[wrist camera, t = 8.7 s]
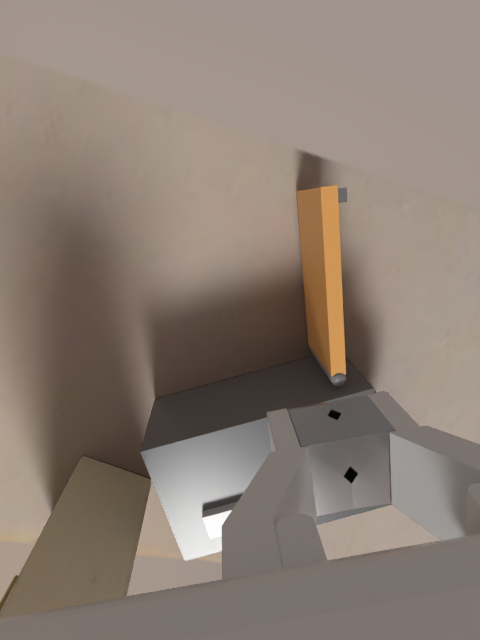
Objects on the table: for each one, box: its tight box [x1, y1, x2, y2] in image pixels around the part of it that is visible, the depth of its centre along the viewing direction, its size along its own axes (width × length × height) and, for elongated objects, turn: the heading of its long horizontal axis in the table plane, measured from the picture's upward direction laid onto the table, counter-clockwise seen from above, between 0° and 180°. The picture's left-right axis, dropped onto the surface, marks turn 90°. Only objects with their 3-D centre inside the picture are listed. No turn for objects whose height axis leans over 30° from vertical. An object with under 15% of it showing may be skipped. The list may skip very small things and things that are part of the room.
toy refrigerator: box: [0, 456, 151, 619], centre depth 23 cm, size 8×7×21 cm
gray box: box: [140, 356, 392, 561], centre depth 29 cm, size 18×10×8 cm, turn 104°
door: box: [297, 185, 347, 386], centre depth 26 cm, size 13×2×6 cm, turn 7°
